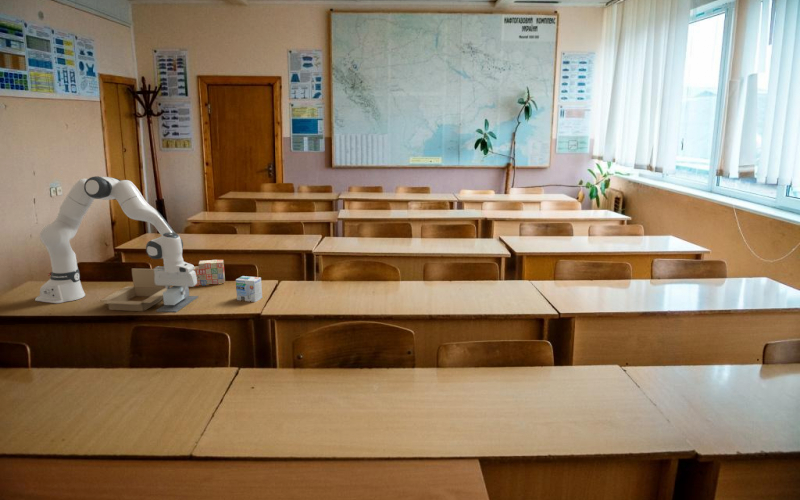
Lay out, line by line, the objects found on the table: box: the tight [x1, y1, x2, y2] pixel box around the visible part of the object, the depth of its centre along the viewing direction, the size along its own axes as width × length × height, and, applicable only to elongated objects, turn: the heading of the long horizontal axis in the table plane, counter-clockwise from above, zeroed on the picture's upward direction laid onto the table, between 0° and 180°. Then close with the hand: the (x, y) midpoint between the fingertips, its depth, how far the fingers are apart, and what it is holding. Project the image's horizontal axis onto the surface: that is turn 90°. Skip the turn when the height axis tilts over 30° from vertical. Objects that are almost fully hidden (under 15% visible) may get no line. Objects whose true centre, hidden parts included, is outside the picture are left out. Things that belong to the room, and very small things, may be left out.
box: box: [162, 286, 190, 306], centre depth 285 cm, size 5×15×8 cm, turn 172°
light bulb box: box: [235, 275, 263, 303], centre depth 291 cm, size 11×7×11 cm, turn 73°
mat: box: [155, 295, 199, 313], centre depth 286 cm, size 10×22×1 cm, turn 172°
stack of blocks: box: [193, 259, 226, 287], centre depth 317 cm, size 21×6×12 cm, turn 101°
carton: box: [99, 268, 167, 312], centre depth 286 cm, size 26×25×14 cm
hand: (177, 294), depth 286 cm, fingers closed on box, 5 cm apart
